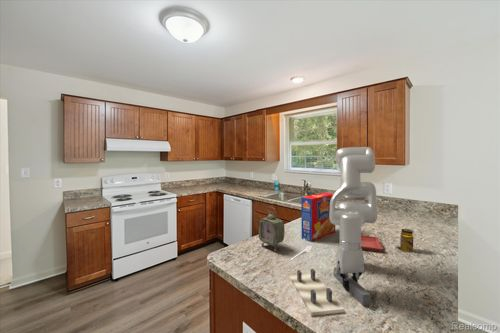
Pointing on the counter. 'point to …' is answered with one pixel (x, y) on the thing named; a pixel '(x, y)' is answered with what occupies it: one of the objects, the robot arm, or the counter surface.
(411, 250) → the condiment
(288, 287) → the counter surface
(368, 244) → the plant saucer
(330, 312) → the clip board
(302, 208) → the pasta box
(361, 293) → the bar
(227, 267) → the counter surface
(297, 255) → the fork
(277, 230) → the tabletop clock
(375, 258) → the counter surface
